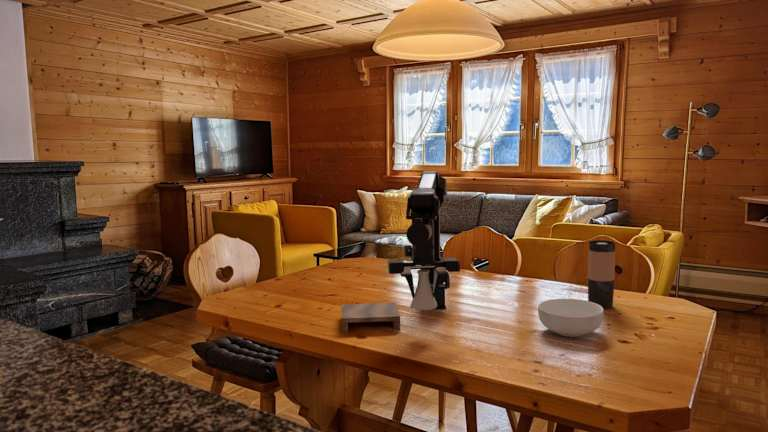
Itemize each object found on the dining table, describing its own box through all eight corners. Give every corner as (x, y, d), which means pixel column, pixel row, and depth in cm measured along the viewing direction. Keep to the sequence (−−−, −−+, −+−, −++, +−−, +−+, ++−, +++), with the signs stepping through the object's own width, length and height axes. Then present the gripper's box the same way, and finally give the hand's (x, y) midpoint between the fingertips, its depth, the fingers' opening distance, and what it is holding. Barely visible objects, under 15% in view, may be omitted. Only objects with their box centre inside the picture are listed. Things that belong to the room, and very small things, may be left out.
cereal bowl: (531, 322, 162) (531, 298, 161) (590, 322, 162) (591, 297, 161) (546, 343, 145) (546, 316, 144) (612, 342, 145) (613, 315, 144)
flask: (429, 312, 148) (429, 274, 146) (405, 309, 151) (404, 272, 150) (441, 305, 154) (441, 269, 153) (418, 302, 158) (417, 266, 156)
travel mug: (617, 305, 178) (619, 241, 175) (607, 310, 172) (609, 245, 170) (593, 301, 183) (595, 239, 180) (583, 306, 177) (584, 242, 175)
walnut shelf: (395, 315, 171) (395, 302, 171) (400, 330, 157) (400, 316, 157) (342, 317, 170) (341, 304, 169) (342, 332, 156) (341, 318, 156)
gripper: (452, 233, 159) (452, 288, 161) (385, 235, 158) (386, 291, 160) (460, 240, 148) (460, 299, 150) (388, 242, 147) (389, 301, 149)
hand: (423, 297), depth 152 cm, fingers closed on flask, 5 cm apart
